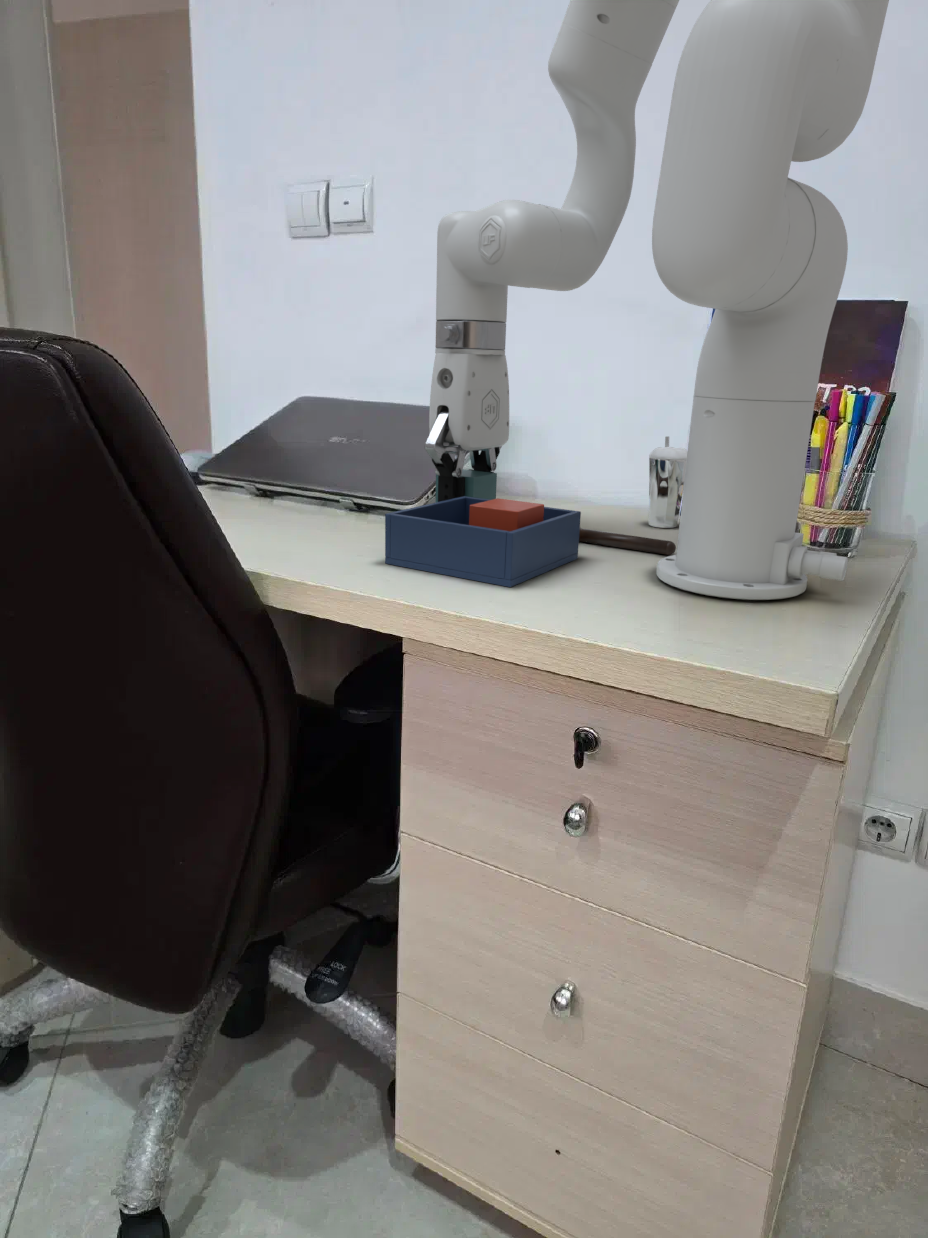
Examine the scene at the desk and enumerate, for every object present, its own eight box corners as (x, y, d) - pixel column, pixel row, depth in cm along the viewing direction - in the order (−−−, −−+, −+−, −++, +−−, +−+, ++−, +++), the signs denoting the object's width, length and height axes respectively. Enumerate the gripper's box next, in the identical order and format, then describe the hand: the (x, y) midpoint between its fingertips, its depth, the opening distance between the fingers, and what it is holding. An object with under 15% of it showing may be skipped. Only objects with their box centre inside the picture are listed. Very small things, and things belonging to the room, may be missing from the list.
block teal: (495, 516, 95) (497, 473, 94) (472, 523, 91) (473, 477, 89) (458, 511, 98) (460, 468, 96) (434, 517, 94) (435, 473, 92)
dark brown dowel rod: (682, 551, 84) (683, 538, 83) (667, 559, 80) (668, 545, 80) (453, 518, 98) (454, 506, 97) (432, 523, 94) (432, 511, 94)
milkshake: (678, 521, 100) (687, 437, 97) (685, 530, 95) (695, 441, 92) (640, 519, 100) (648, 435, 97) (644, 528, 95) (653, 439, 92)
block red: (541, 557, 77) (544, 504, 76) (515, 567, 73) (518, 511, 72) (495, 549, 80) (497, 498, 78) (467, 559, 76) (469, 504, 74)
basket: (577, 558, 80) (581, 511, 78) (510, 587, 69) (512, 533, 68) (462, 539, 86) (463, 495, 85) (384, 563, 76) (384, 513, 74)
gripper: (456, 338, 80) (451, 524, 85) (538, 343, 94) (530, 502, 99) (394, 337, 83) (393, 515, 89) (482, 342, 97) (477, 496, 103)
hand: (465, 506), depth 94 cm, fingers open, 5 cm apart
